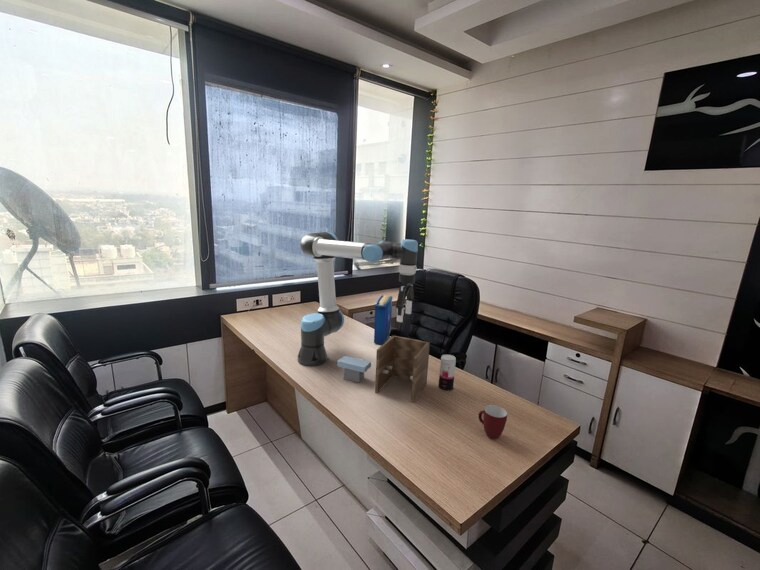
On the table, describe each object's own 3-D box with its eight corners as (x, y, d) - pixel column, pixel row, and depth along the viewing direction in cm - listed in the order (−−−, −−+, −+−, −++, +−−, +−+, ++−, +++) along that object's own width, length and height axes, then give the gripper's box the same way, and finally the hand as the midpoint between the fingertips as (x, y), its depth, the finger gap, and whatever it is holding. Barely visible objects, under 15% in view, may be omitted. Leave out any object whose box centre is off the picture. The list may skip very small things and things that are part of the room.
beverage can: (445, 393, 157) (448, 361, 154) (435, 386, 163) (438, 356, 159) (456, 389, 161) (459, 358, 157) (446, 383, 166) (448, 353, 163)
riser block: (343, 378, 166) (343, 366, 165) (348, 374, 171) (349, 362, 169) (359, 382, 163) (359, 370, 162) (363, 377, 168) (364, 366, 166)
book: (384, 346, 207) (386, 304, 201) (372, 344, 208) (374, 303, 203) (390, 333, 227) (392, 295, 222) (379, 332, 229) (381, 294, 223)
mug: (470, 431, 131) (473, 407, 129) (482, 423, 136) (484, 399, 134) (497, 446, 123) (500, 420, 121) (508, 436, 129) (511, 411, 127)
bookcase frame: (374, 392, 155) (376, 349, 151) (391, 374, 172) (393, 335, 168) (414, 402, 148) (417, 358, 144) (426, 382, 166) (429, 342, 161)
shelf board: (337, 366, 165) (337, 361, 165) (344, 360, 171) (344, 355, 171) (364, 372, 160) (364, 367, 159) (371, 366, 166) (371, 361, 166)
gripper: (407, 279, 151) (403, 326, 156) (422, 270, 174) (418, 311, 179) (390, 277, 154) (387, 323, 159) (407, 268, 177) (404, 309, 181)
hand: (404, 317), depth 169 cm, fingers open, 13 cm apart
